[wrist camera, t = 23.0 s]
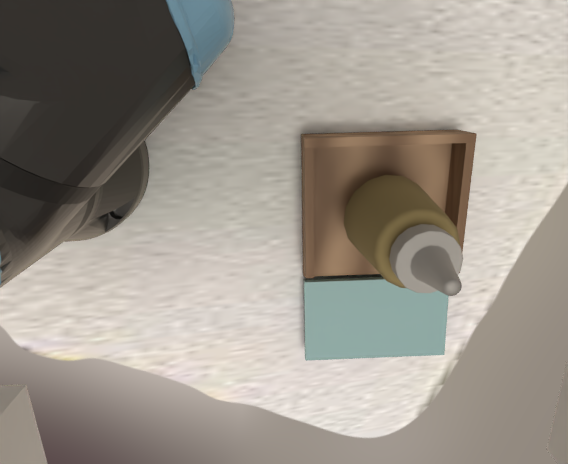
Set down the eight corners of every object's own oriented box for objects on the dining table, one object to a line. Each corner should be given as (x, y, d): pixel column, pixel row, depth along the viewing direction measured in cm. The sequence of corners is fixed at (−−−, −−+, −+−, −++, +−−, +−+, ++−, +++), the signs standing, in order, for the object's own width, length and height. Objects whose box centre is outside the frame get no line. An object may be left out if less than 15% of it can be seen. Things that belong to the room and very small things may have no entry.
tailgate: (303, 279, 44) (305, 356, 46) (304, 282, 43) (305, 360, 45) (446, 274, 44) (441, 351, 46) (449, 277, 43) (444, 354, 46)
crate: (302, 272, 45) (306, 289, 41) (301, 134, 40) (304, 138, 36) (442, 267, 45) (458, 283, 41) (457, 129, 41) (476, 133, 37)
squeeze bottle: (429, 179, 41) (543, 241, 24) (400, 253, 43) (485, 357, 26) (352, 157, 40) (413, 206, 23) (327, 234, 42) (365, 329, 25)
